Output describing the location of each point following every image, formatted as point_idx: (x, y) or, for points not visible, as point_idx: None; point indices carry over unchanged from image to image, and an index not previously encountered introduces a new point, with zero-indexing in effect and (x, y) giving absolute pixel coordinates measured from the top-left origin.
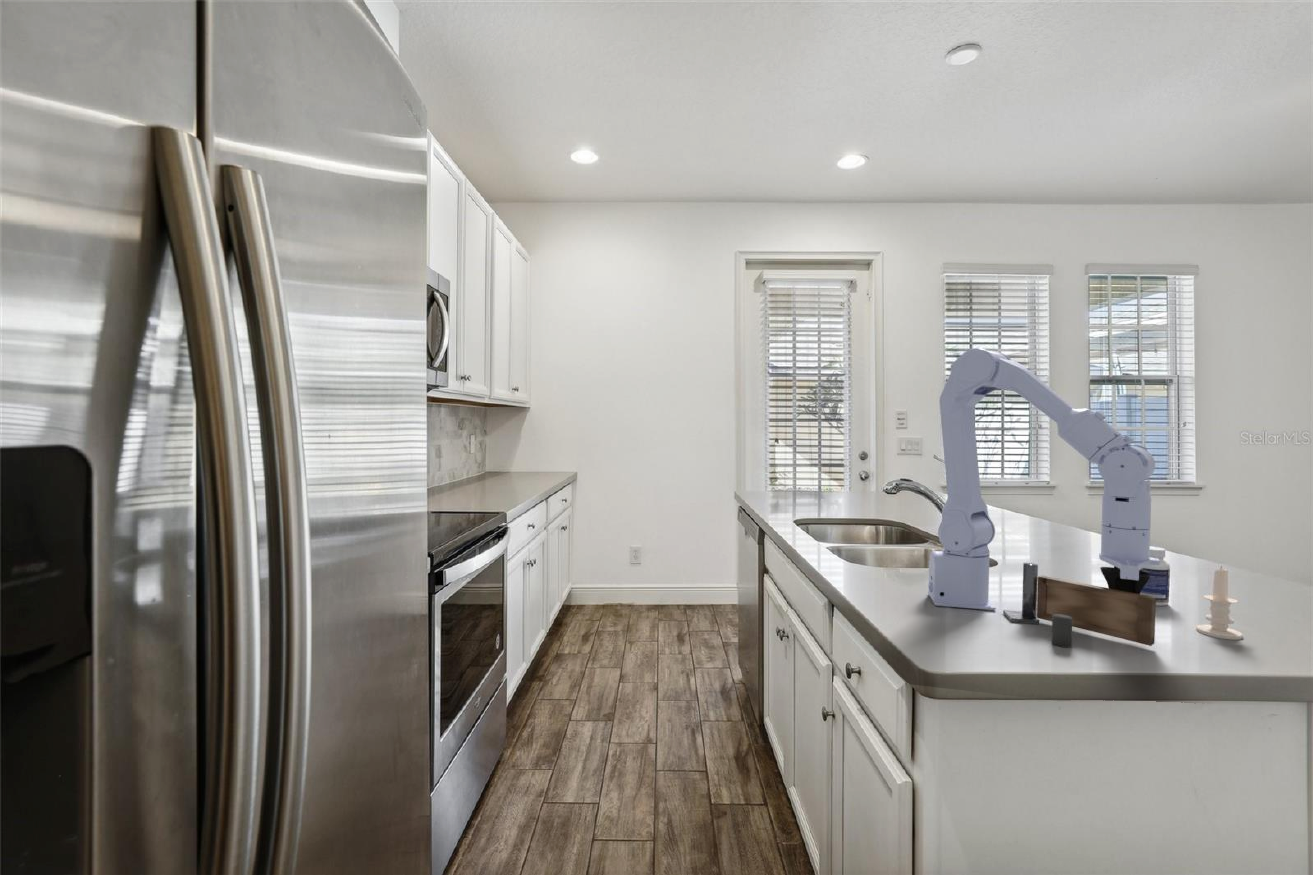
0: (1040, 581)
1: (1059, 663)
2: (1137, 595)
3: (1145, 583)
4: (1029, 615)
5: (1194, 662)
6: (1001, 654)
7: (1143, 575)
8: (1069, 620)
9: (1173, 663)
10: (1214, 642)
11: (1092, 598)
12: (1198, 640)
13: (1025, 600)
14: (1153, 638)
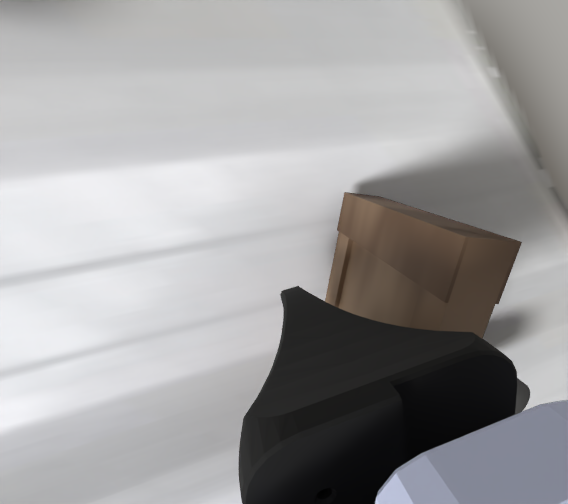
0: None
1: (565, 312)
2: (479, 311)
3: (451, 334)
4: None
5: (388, 76)
6: (564, 388)
7: (462, 393)
8: (522, 382)
9: (435, 128)
10: (38, 9)
11: None
12: (74, 73)
13: None
14: (363, 196)
